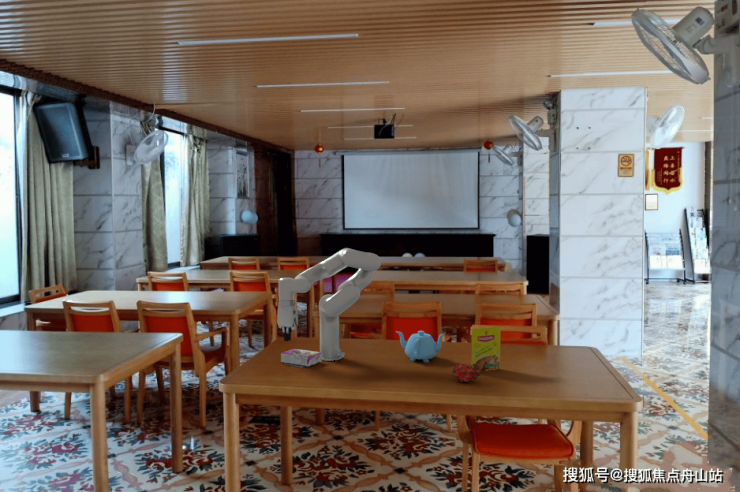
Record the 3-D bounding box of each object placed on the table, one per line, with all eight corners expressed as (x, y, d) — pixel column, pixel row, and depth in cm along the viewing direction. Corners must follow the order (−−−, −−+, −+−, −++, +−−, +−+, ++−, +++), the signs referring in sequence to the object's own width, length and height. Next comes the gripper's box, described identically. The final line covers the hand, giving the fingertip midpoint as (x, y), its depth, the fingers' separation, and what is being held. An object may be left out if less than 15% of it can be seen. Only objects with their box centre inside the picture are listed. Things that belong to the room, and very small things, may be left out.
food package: (471, 372, 268) (472, 329, 267) (470, 372, 269) (471, 328, 268) (500, 369, 274) (501, 326, 272) (499, 368, 275) (499, 326, 273)
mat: (314, 363, 283) (314, 363, 283) (302, 367, 276) (302, 367, 276) (295, 360, 290) (295, 359, 290) (283, 364, 283) (283, 363, 283)
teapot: (445, 361, 288) (445, 333, 287) (409, 365, 281) (409, 336, 280) (430, 354, 303) (430, 326, 302) (395, 357, 296) (395, 329, 295)
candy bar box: (294, 347, 293) (321, 352, 285) (294, 357, 294) (321, 362, 285) (280, 352, 284) (308, 356, 275) (280, 362, 284) (308, 367, 276)
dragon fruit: (450, 383, 257) (477, 390, 253) (448, 376, 250) (476, 383, 246) (454, 365, 261) (481, 371, 257) (453, 357, 254) (481, 364, 250)
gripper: (303, 303, 286) (304, 341, 287) (280, 301, 294) (281, 337, 296) (292, 305, 280) (293, 344, 281) (270, 303, 288) (270, 340, 289)
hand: (287, 340), depth 288 cm, fingers closed
